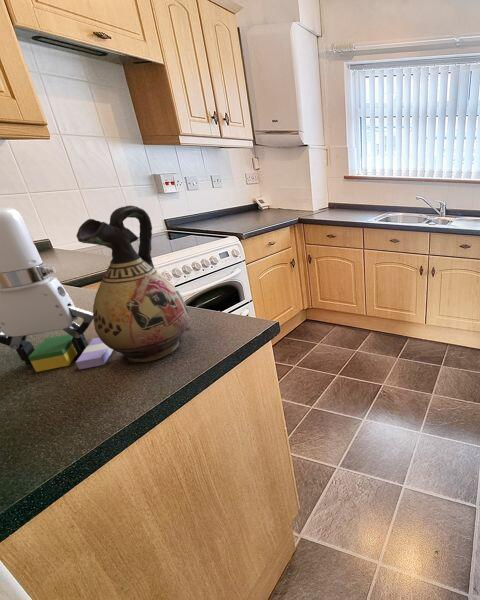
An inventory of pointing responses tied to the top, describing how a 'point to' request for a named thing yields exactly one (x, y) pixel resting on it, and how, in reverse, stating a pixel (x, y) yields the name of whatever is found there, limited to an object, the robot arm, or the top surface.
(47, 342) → the sponge
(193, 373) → the top surface
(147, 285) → the ceramic jug
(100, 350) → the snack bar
